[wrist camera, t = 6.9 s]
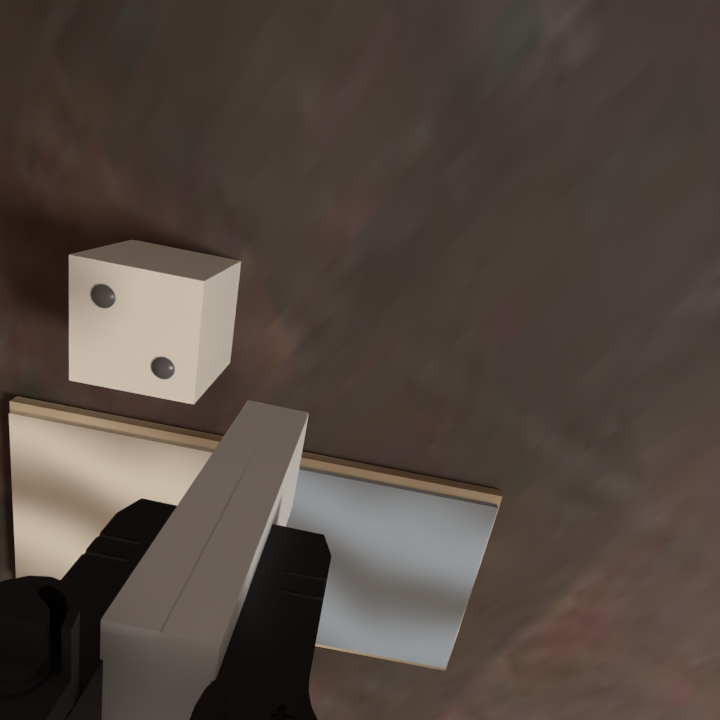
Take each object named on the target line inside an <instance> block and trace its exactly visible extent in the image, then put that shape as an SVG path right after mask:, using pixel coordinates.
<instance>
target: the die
mask: <svg viewBox="0 0 720 720" xmlns="http://www.w3.org/2000/svg"><path fill="white" fill-rule="evenodd" d="M240 267H241V261H239V260H234V259H229V258H224V257H219V256H214V255H208V254H203V253H198V252H193V251H188V250H183V249H178V248H173V247H168V246H163V245H158V244H153V243H147V242H142V241H137V240H128V241H124V242H120V243H115V244H111V245H107V246H103V247H99V248H94V249H90V250H86V251H82V252H78V253H73V254H69V380H70V381H75V382H80V383H86V384H91V385H96V386H101V387H106V388H111V389H116V390H122V391H127V392H132V393H137V394H142V395H147V396H152V397H158V398H163V399H168V400H173V401H178V402H183V403H188V404H195V403H196V401H197V400H198V399H199V398H200V397H201V396H202V394H203V393H204V392H205V391H206V390H207V389H208V388H209V386H210V385H211V384H212V383H213V382H214V381H215V380H216V378H217V377H218V376H219V375H220V374H221V373H222V372H223V370H224V369H225V368H226V367H227V366H228V365H229V364H230V358H231V349H232V340H233V331H234V322H235V313H236V303H237V294H238V285H239V276H240Z"/></svg>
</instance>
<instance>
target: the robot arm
mask: <svg viewBox="0 0 720 720" xmlns="http://www.w3.org/2000/svg"><path fill="white" fill-rule="evenodd" d="M308 415H309V413H307V412H302V411H297V410H293V409H288V408H283V407H278V406H273V405H269V404H264V403H259V402H254V401H249V400H248V401H247V403H246V404H245V406H244V407H243V409H242V410H241V412H240V413H239V414H238V416H237V417H236V419H235V420H234V422H233V423H232V425H231V426H230V428H229V429H228V431H227V432H226V434H225V435H224V437H223V438H222V440H221V441H220V443H219V444H218V446H217V447H216V449H215V450H214V452H213V453H212V455H211V456H210V458H209V459H208V461H207V462H206V464H205V465H204V467H203V468H202V470H201V471H200V473H199V474H198V476H197V477H196V479H195V480H194V481H193V483H192V484H191V486H190V487H189V489H188V490H187V492H186V493H185V495H184V496H183V498H182V499H181V501H180V502H179V504H178V505H177V506H176V505H171V504H166V503H162V502H157V501H152V500H147V499H143V498H141V499H139V500H138V501H136V502H134V503H133V504H131V505H129V506H127V507H126V508H124V509H122V510H121V511H119V512H117V513H116V514H115V515H114V517H113V518H112V519H111V520H110V521H109V523H108V524H107V525H106V526H105V527H104V529H103V530H102V531H101V532H100V535H99V537H96V538H95V539H94V541H93V542H92V543H91V544H90V545H89V547H88V548H87V549H86V552H85V554H82V555H81V556H80V557H79V559H78V560H77V561H76V562H75V563H74V565H73V566H72V567H71V568H70V569H69V571H68V572H67V573H66V574H65V575H64V577H63V578H62V579H61V580H58V579H56V578H53V577H48V576H24V577H19V578H14V579H9V580H5V581H2V582H0V720H317V718H316V716H315V713H314V711H313V709H312V707H311V702H310V697H309V677H310V671H311V666H312V660H313V655H314V649H315V644H316V638H317V633H318V627H319V622H320V616H321V611H322V605H323V600H324V594H325V589H326V583H327V578H328V572H329V567H330V561H331V553H330V550H329V547H328V544H327V542H326V539H325V536H324V535H323V534H318V533H313V532H309V531H304V530H299V529H294V528H290V527H286V525H287V521H288V518H289V515H290V512H291V509H292V506H293V500H294V495H295V489H296V483H297V478H298V472H299V466H300V461H301V455H302V449H303V444H304V438H305V432H306V427H307V421H308Z"/></svg>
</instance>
